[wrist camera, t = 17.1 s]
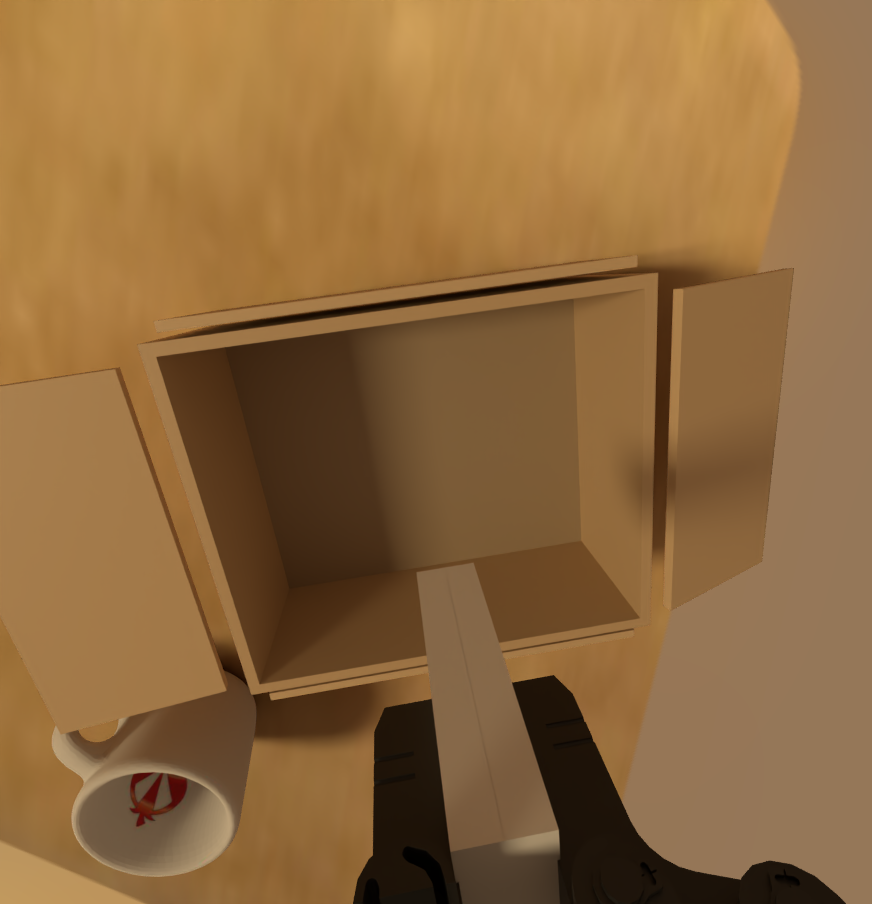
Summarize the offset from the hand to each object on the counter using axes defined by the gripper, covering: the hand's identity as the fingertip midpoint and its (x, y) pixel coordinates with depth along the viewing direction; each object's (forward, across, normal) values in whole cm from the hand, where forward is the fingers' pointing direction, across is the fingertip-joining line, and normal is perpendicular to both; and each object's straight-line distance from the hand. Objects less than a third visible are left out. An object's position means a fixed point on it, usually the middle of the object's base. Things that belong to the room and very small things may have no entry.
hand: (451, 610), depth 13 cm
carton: (+16, 0, -1) cm, 16 cm away
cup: (+16, -17, -15) cm, 27 cm away
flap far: (+8, +10, -1) cm, 13 cm away
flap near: (+8, -10, -1) cm, 13 cm away
